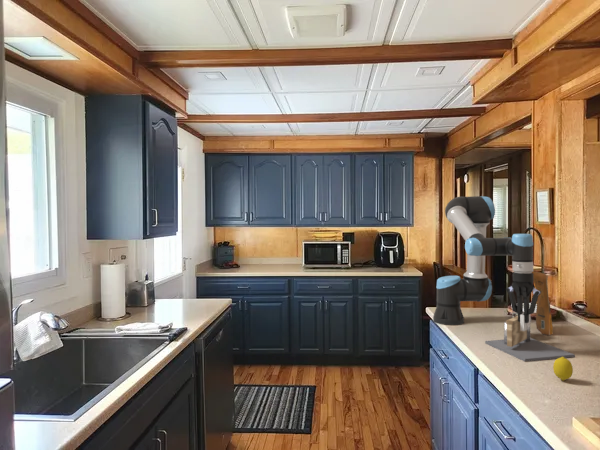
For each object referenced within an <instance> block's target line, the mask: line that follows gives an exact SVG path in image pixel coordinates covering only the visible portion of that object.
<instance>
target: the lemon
mask: <svg viewBox="0 0 600 450" xmlns="http://www.w3.org/2000/svg"><path fill="white" fill-rule="evenodd" d="M552 369H553V373H554V375H555V376H556V377H557V378H558V379H560V380H561V381H562V382H564V381H565V380H568V379H570V378H571V377H572V376H573V372H574V370H573V369H574V368H573V365H572V363H571V361H570V360H569V358H564V357H561V358H558V359H554V362H553V366H552Z"/></svg>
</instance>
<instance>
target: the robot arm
mask: <svg viewBox="0 0 600 450" xmlns="http://www.w3.org/2000/svg"><path fill="white" fill-rule="evenodd" d="M444 215H445V217H446V220H447V221H448V222H449V223H451V224H452V225H454V227H455V229H456V230H457V231H458V232H459V234H460V236H462V238H463V240H464V243H465V244H464V249H465V252H466V254H467V255H466V271H465V272H464V273H463V276H462V277H463V278H461V276H460V275H445V276H441V277H438V279H436V287H435V288H436V306H435V307H436V308H435V310H434V313H433V316H432V317H433V318H432V319H433V320H432V321H433V322H434V323H437V324H440V325H446V326H447V325H449V326H458V325H462V324H463V325H464V323H465V317H464V315H463V312H462V311H463V310H462V308H461V302H485V301H488V300H489V299H490V297H491V295H492V291H493V285H492V284H493V283H492V281H491V279H490V278H489V277H488V275H487V274H486V272H485V271H486V268H485V267H486V256H511V257H512V258H511V261H512V263H511V264H512V268H511V269H512V283H511V285H510V286H509V287H506V288H505V291H506V292H507V294H508V297H509V301H510V302H509V303H510V305H511V310H512V313H513V312H516V313H517V314H518V322H520V331H526V330H527V323H528V322H529V314H530V315H532V314H534V313H535V312H536V308H537V299H538V296H539V295H540V293H541V291H540V290H539V291H538V290H537V289H536V287H535V284H534V280H533V273H532V272H533V271H534V238H533V235H532V234H531V233H513V234H512V236H511V237H506V236H505V237H487V227H488V225H490V223H491V220H493V219H494V218H495V215H496V208H495V204H494V201H493V200H492V198H491V197H489V196H483V195H481V196H480V195H478V196H477V195H475V196H473V195H472V196H457V197H454V198H453V199H451V200H449V202H448V203H447V204H446V205H445V209H444ZM514 292H515V293H514ZM515 294H516V295H515ZM531 294H533V295H532V298H531V301H530V296H531ZM523 312H524V314H522V313H523Z"/></svg>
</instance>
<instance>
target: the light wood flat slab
mask: <svg viewBox="0 0 600 450" xmlns="http://www.w3.org/2000/svg"><path fill="white" fill-rule="evenodd" d="M505 322H506V324H507V346H510V347H512V346H514V345H516V344H518V343H520V342H522V341H524V340H526V339H527V330H526V331H520V322H518V316H516V317H512V318H509V319H506V320H505Z"/></svg>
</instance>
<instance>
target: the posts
mask: <svg viewBox="0 0 600 450" xmlns="http://www.w3.org/2000/svg"><path fill="white" fill-rule="evenodd" d="M523 314H524V311H523ZM530 317H531V314H529V322H528V323H527V339H526V340H524V341H525V342H530V338H531V322H530ZM503 340H504V344H506V345H507V324H506V321H504V322H503Z"/></svg>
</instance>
